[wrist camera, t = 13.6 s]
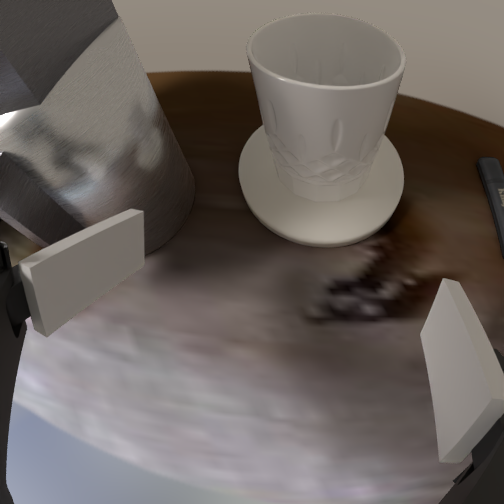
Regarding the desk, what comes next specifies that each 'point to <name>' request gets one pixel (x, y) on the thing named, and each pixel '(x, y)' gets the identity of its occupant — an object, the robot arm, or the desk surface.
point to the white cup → (324, 98)
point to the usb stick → (494, 192)
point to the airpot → (82, 126)
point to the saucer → (319, 213)
